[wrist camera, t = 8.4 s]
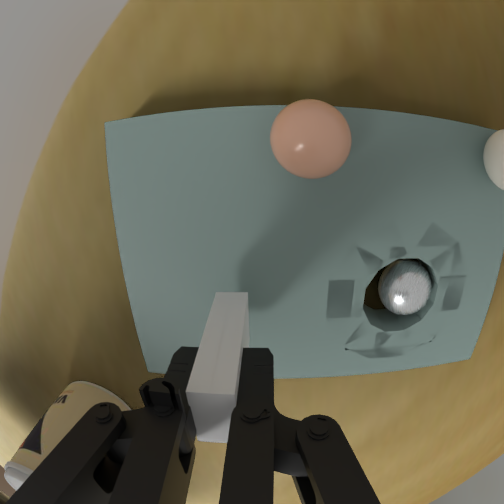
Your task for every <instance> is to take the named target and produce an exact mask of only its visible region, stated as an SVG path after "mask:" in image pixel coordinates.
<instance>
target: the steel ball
mask: <svg viewBox="0 0 504 504" xmlns="http://www.w3.org/2000/svg"><path fill="white" fill-rule="evenodd" d="M378 291H379V296H380V299H381V301H382V303H383V304H384V306H385V307H386V308H387V309H388V310H390V311H391V312H393V313H395V314H398V315H410V314H413V313H416V312H417V311H419V310H420V309H421V308H423V307H424V305H425V304H426V303H427V301H428V299H429V297H430V294H431V279H430V276H429V274H428V272H427V270H426V269H425V268H424V267H423V266H422V265H421V264H420V263H418V262H416V261H414V260H410V259H401V260H397V261H395V262H393V263H391V264H390V265H389V266H387V267H386V269H385V270H384V271H383V273H382V275H381V277H380V280H379V285H378Z"/></svg>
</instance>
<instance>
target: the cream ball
mask: <svg viewBox="0 0 504 504" xmlns="http://www.w3.org/2000/svg"><path fill="white" fill-rule="evenodd" d="M483 161H484V166H485V169H486V172H487V174H488V176H489V178H490V179H491V180H492V182H493V183H494V184H495V185H496V186H498V187H499V188H500V189H502V190H504V129H502V130H499V131H497V132H495V133H494V134H492V135H491V136H490V137H489V139H488V140H487V142H486V145H485V147H484V153H483Z"/></svg>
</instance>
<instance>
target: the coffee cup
mask: <svg viewBox="0 0 504 504" xmlns="http://www.w3.org/2000/svg"><path fill="white" fill-rule="evenodd" d="M101 402H111V403H114V404H116V405H117V406H119V408H120V409H121V411H127V410H131V409H130V407H129V406H128V405H127V404H126V403H125V402H124V401H123V400H122V399H120V398H119V397H118V396H117V395H115V394H114V393H112V392H111V391H109V390H107V389H105V388H103V387H101V386H99V385H96V384H94V383H90V382H86V381H75V382H72V383H71V384H69V385H68V386H67V387H66V388H65V389H64V391H63V392H62V393H61V394H60V395H59V396H58V398H57V399H56V400H55V401H54V403H53V404H52V405H51V407H50V408H49V409H48V410H47V412H46V413H45V414H44V415H43V417H42V418H41V419H40V421H39V422H38V423H37V425H36V426H35V427H34V428H33V430H32V431H31V432H30V434H29V435H28V436H27V438H26V439H25V441H24V442H23V443H22V445H21V446H20V448H19V449H18V450H17V452H16V453H15V455H14V456H13V457H12V459H11V461H9V462H7V463H6V465H5V467H4V468H5V471H6V472H5V474H4V477H5V479H6V480H7V482H8V483H9V484H10V485H11V486H12V487H13V488H14V489H15V490H16V491H17V490H18V488H19V487H20V486H21V485H22V484H23V483H24V482H25V480H26V479H27V478H28V477H29V476H30V475H31V474H32V473H33V471H34V470H35V469H36V468H37V467H38V466H39V465H40V463H41V462H42V461H43V460H44V459H45V458H46V457H47V456H48V454H49V453H50V452H51V451H52V450H53V449H54V448H55V447H56V445H57V444H58V443H59V442H60V441H61V440H62V439H63V438H64V437H65V435H66V434H67V433H68V432H69V431H70V430H71V429H72V428H73V426H74V425H75V424H76V423H77V422H78V421H79V420H80V419H81V418H82V417H83V415H84V414H85V413H86V412H87V411H88V410H89V409H90V408H91V407H92V406H94V405H95V404H98V403H101Z"/></svg>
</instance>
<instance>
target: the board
mask: <svg viewBox="0 0 504 504" xmlns="http://www.w3.org/2000/svg"><path fill="white" fill-rule="evenodd" d="M286 106H288V105H260V106H235V107H218V108H205V109H194V110H184V111H175V112H167V113H159V114H152V115H145V116H139V117H132V118H126V119H121V120H115V121H110V122H105V139H106V152H107V164H108V174H109V184H110V192H111V200H112V208H113V215H114V222H115V228H116V235H117V241H118V247H119V252H120V258H121V263H122V268H123V273H124V278H125V283H126V288H127V292H128V297H129V301H130V306H131V310H132V314H133V318H134V322H135V326H136V330H137V334H138V338H139V342H140V345H141V349H142V353H143V356H144V360H145V363H146V366H147V370H148V372H153V373H162V374H166V372H167V369H168V367H169V364H170V361H171V359H172V356H173V354H174V353H175V352H176V351H177V350H178V349H179V348H180V347H181V346H186V347H199V346H200V342H201V339H202V336H203V333H204V329H205V326H206V323H207V320H208V317H209V313H210V310H211V307H212V304H213V301H214V297H215V294H216V292H248V310H249V335H250V341H249V348H269V350H270V351H271V353H272V354H273V356H274V379H277V378H315V377H334V376H349V375H361V374H372V373H382V372H391V371H399V370H407V369H414V368H421V367H427V366H434V365H440V364H445V363H451V362H456V361H462V360H467V359H470V357H471V355H472V353H473V350H474V348H475V345H476V342H477V340H478V337H479V334H480V332H481V329H482V326H483V323H484V320H485V317H486V314H487V311H488V308H489V305H490V301H491V298H492V295H493V291H494V288H495V284H496V280H497V277H498V273H499V269H500V264H501V260H502V256H503V251H504V190H502V189H500V188H499V187H498V186H496V185H495V184H494V183H493V182H492V180H491V179H490V178H489V176H488V174H487V172H486V169H485V166H484V161H483V153H484V147H485V145H486V142H487V140H488V139H489V137H490V136H491V135H492V134H494V133H495V132H497V130H493V129H489V128H485V127H481V126H476V125H472V124H467V123H462V122H457V121H452V120H447V119H442V118H436V117H430V116H423V115H417V114H410V113H402V112H394V111H385V110H376V109H365V108H352V107H336V106H333V107H335V108H336V109H337V110H338V111H339V112H340V113H341V114H342V115H343V116H344V118H345V119H346V121H347V123H348V125H349V128H350V131H351V137H352V143H351V150H350V153H349V156H348V158H347V160H346V161H345V163H344V164H343V165H342V166H341V167H340V168H339V169H338V170H337V171H335V172H334V173H332V174H330V175H328V176H326V177H323V178H318V179H306V178H301V177H298V176H296V175H294V174H292V173H290V172H288V171H287V170H286V169H285V168H283V167H282V166H281V165H280V164H279V162H278V161H277V159H276V158H275V156H274V154H273V151H272V149H271V144H270V131H271V127H272V124H273V122H274V120H275V118H276V116H277V115H278V114H279V112H280V111H281V110H282V109H284V108H285V107H286ZM406 258H418V260H419V263H420V264H421V265H422V266H423V267H424V268H425V269H426V270H427V272H428V274H429V276H430V279H431V294H430V297H429V299H428V301H427V303H426V304H425V305H424V307H423V308H421V309H420V310H419V311H417V312H416V313H413V314H410V315H398V314H395V313H393V312H391V311H390V310H388V309H372V308H370V307H368V306H367V305H365V304H363V303H364V296H365V289H366V287H367V286H368V285H369V283H370V282H371V280H372V279H373V278H374V276H375V275H376V273H377V272H378V270H380V269H381V268H383V267H385V266H387V265H388V264H390V263H392V262H394V261H395V260H397V259H406Z"/></svg>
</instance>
